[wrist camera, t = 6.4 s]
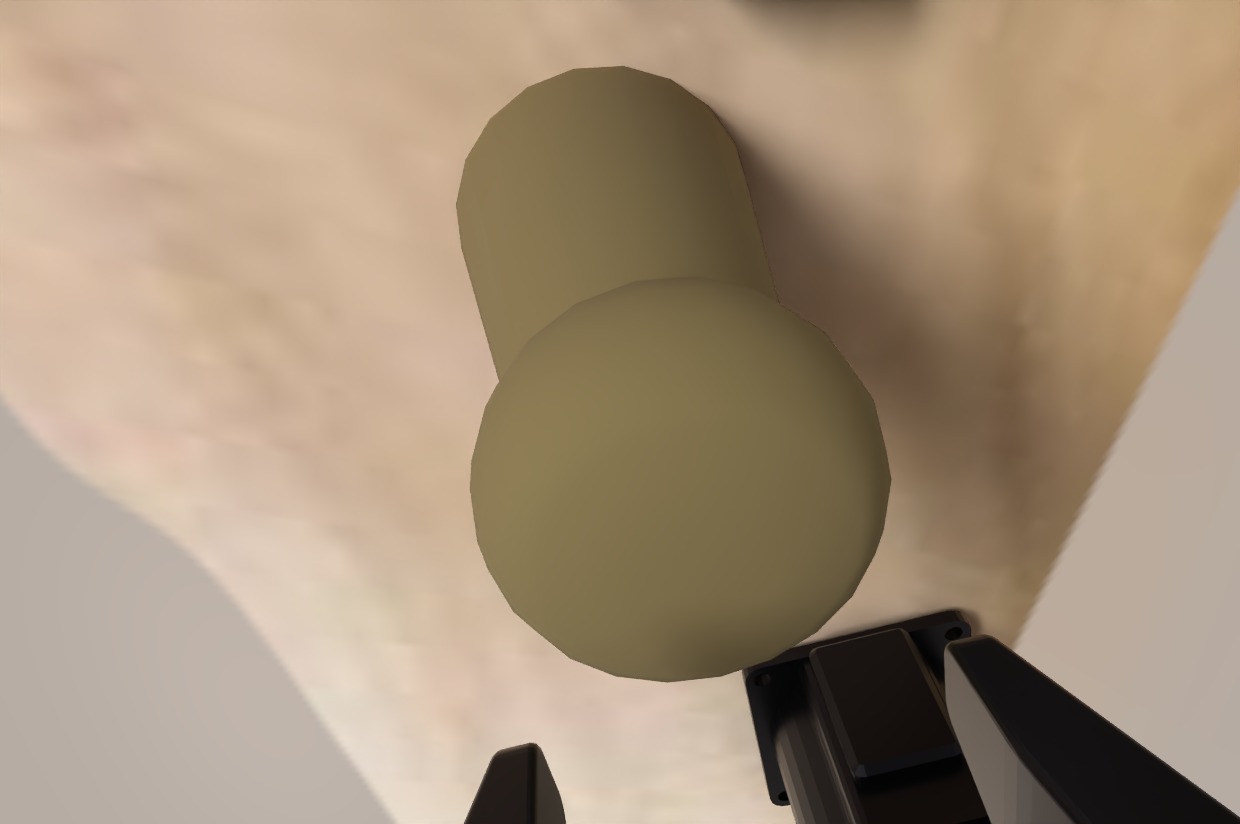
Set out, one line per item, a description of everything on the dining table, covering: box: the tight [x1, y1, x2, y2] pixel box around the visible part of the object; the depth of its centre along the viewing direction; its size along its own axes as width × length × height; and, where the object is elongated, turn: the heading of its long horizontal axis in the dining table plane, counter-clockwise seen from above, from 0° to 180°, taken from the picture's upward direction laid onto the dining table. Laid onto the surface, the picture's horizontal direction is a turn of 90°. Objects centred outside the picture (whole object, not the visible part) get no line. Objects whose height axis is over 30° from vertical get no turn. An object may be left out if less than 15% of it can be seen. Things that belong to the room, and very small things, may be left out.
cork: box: [456, 66, 891, 682], centre depth 15 cm, size 6×6×11 cm
